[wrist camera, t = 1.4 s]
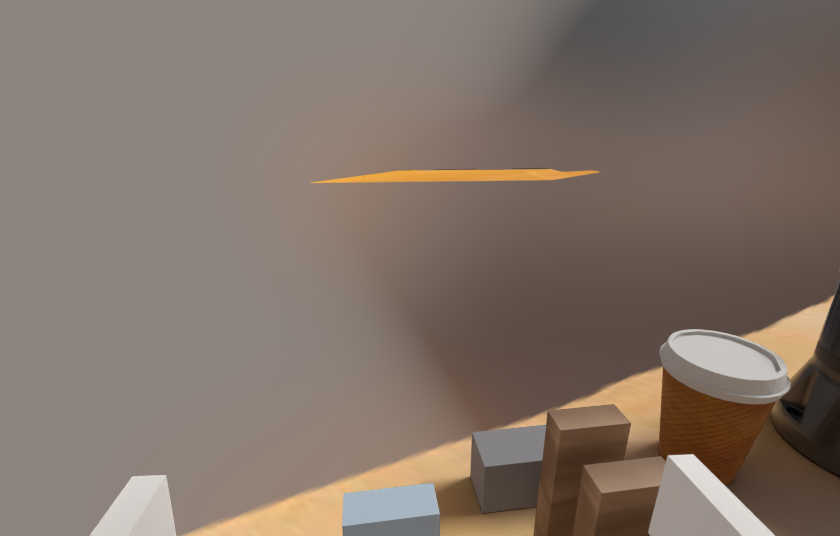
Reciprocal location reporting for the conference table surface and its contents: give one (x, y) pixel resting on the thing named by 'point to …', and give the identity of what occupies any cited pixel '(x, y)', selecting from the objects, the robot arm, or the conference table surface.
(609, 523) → the walnut domino
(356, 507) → the slate domino
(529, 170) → the conference table surface
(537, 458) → the block
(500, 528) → the conference table surface
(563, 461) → the walnut domino
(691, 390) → the disposable coffee cup
